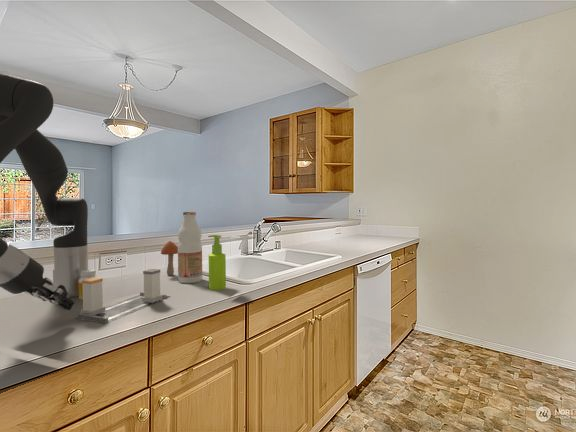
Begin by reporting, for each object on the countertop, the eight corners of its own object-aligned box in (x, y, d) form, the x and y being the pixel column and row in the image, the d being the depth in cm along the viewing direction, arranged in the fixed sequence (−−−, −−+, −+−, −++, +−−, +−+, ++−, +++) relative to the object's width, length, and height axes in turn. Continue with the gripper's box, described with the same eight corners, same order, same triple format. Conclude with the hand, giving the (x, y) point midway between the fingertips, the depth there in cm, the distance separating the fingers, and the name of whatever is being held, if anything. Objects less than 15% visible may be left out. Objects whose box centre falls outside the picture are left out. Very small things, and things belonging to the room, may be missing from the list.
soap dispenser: (217, 287, 114) (216, 233, 113) (229, 290, 109) (228, 235, 109) (203, 290, 109) (203, 235, 108) (215, 294, 105) (215, 236, 104)
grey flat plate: (73, 323, 80) (73, 314, 80) (144, 296, 102) (144, 290, 102) (104, 328, 76) (104, 319, 76) (171, 300, 99) (171, 293, 99)
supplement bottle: (84, 304, 95) (83, 273, 94) (75, 301, 97) (74, 271, 97) (102, 299, 100) (101, 270, 99) (93, 297, 102) (92, 268, 102)
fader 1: (80, 314, 82) (79, 280, 81) (94, 309, 85) (93, 276, 85) (91, 316, 80) (90, 281, 80) (105, 311, 84) (104, 278, 84)
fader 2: (142, 301, 92) (141, 271, 92) (152, 297, 96) (151, 268, 96) (152, 302, 91) (152, 272, 91) (162, 298, 95) (161, 269, 94)
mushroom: (173, 272, 140) (172, 239, 139) (184, 274, 135) (183, 240, 135) (157, 275, 133) (156, 241, 133) (167, 277, 129) (167, 242, 128)
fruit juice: (173, 283, 120) (172, 212, 119) (185, 277, 129) (184, 211, 128) (195, 284, 118) (194, 212, 117) (206, 278, 127) (205, 211, 126)
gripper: (44, 255, 65) (98, 295, 77) (5, 252, 69) (62, 290, 82) (16, 286, 60) (78, 324, 72) (-25, 280, 65) (41, 317, 77)
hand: (69, 306), depth 77 cm, fingers closed
